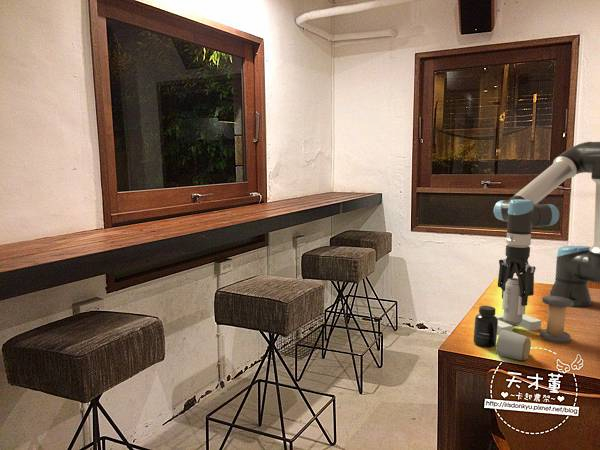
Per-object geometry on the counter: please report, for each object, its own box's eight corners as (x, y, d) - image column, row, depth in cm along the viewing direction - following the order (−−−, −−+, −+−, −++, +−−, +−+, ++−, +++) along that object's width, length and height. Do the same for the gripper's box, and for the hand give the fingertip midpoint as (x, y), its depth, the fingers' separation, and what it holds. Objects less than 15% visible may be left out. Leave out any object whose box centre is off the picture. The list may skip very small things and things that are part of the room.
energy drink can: (521, 326, 167) (525, 282, 165) (502, 323, 169) (505, 280, 167) (522, 320, 172) (525, 278, 170) (503, 318, 175) (506, 276, 173)
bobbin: (552, 331, 169) (555, 294, 167) (576, 340, 160) (579, 302, 159) (533, 335, 165) (536, 297, 163) (556, 344, 157) (559, 305, 155)
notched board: (517, 320, 180) (518, 312, 180) (540, 328, 171) (541, 320, 171) (479, 326, 173) (480, 318, 173) (501, 336, 164) (502, 327, 164)
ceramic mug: (524, 365, 142) (526, 339, 141) (494, 357, 147) (496, 332, 146) (533, 354, 150) (535, 329, 149) (505, 347, 155) (507, 323, 154)
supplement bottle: (480, 348, 154) (482, 311, 152) (469, 340, 160) (471, 304, 159) (500, 347, 155) (503, 310, 153) (489, 339, 161) (491, 303, 160)
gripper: (488, 241, 174) (484, 304, 178) (532, 251, 157) (527, 321, 160) (504, 240, 177) (500, 302, 180) (549, 249, 160) (544, 318, 163)
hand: (513, 311), depth 170 cm, fingers closed on energy drink can, 6 cm apart
